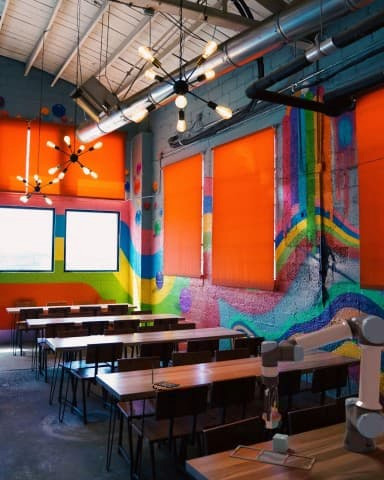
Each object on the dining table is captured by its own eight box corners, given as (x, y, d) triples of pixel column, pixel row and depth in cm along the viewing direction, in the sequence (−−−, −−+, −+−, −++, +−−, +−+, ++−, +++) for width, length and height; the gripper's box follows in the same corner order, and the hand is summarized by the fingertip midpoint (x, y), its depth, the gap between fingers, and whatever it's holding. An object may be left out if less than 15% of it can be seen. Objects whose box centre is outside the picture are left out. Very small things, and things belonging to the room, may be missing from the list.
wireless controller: (181, 389, 340) (180, 365, 341) (168, 393, 330) (168, 368, 331) (161, 385, 353) (160, 362, 354) (148, 388, 342) (148, 365, 343)
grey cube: (276, 446, 228) (276, 433, 229) (288, 448, 226) (288, 435, 226) (273, 450, 223) (272, 437, 223) (285, 452, 220) (285, 439, 221)
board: (239, 445, 229) (239, 445, 229) (315, 458, 213) (315, 457, 213) (229, 456, 216) (229, 455, 216) (309, 470, 200) (309, 469, 200)
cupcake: (279, 423, 220) (278, 397, 221) (283, 429, 211) (282, 402, 212) (261, 423, 220) (260, 398, 220) (264, 430, 211) (263, 403, 212)
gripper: (269, 369, 228) (270, 417, 227) (255, 379, 209) (257, 431, 208) (284, 370, 225) (286, 419, 223) (271, 380, 206) (273, 433, 205)
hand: (272, 424), depth 216 cm, fingers closed on cupcake, 8 cm apart
